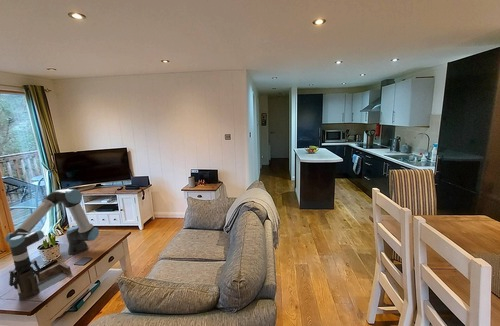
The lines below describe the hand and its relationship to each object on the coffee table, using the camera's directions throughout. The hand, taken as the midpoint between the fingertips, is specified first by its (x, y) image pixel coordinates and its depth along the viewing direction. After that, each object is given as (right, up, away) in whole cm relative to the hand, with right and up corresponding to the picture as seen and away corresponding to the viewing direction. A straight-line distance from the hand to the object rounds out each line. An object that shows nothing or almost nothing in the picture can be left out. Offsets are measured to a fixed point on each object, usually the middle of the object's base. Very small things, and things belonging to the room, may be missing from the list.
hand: (28, 287), depth 161 cm
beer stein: (+1, -7, +2) cm, 7 cm away
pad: (+2, -4, +16) cm, 16 cm away
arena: (0, -3, +18) cm, 19 cm away
